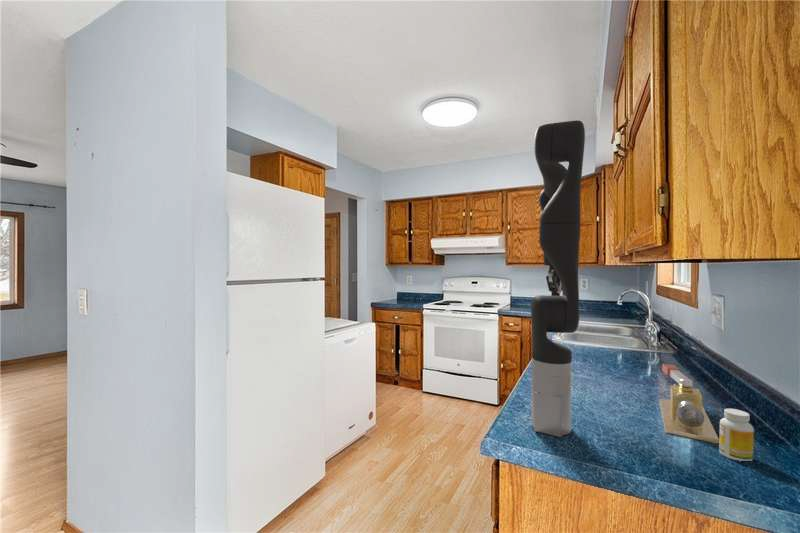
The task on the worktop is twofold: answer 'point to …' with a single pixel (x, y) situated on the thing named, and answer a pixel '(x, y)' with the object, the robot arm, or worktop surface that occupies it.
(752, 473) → the worktop surface
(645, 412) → the worktop surface
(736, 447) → the supplement bottle
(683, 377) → the valve lever
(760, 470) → the worktop surface
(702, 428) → the valve rig
